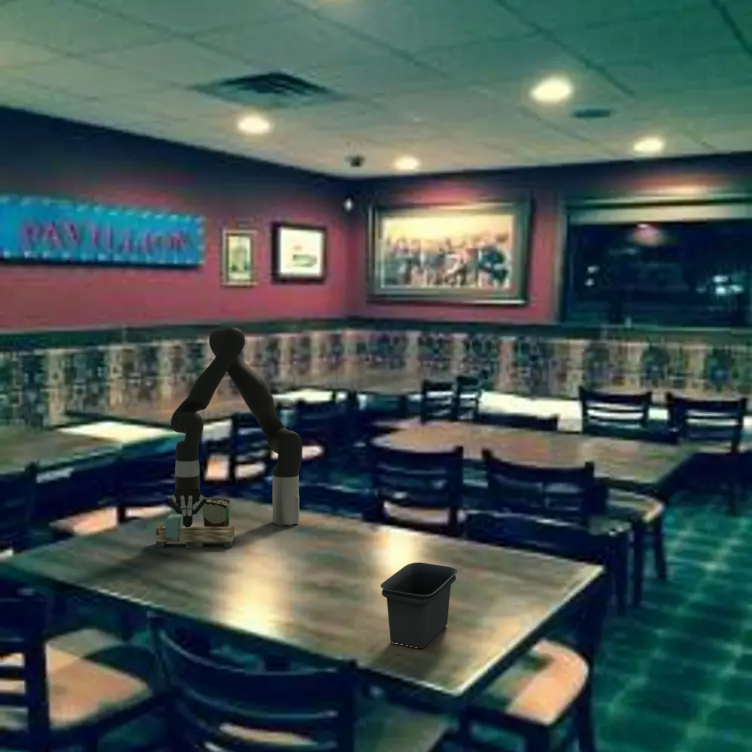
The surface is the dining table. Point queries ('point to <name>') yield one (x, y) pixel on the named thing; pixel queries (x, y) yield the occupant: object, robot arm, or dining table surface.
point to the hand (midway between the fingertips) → (187, 526)
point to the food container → (216, 512)
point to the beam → (197, 536)
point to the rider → (173, 525)
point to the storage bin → (418, 602)
